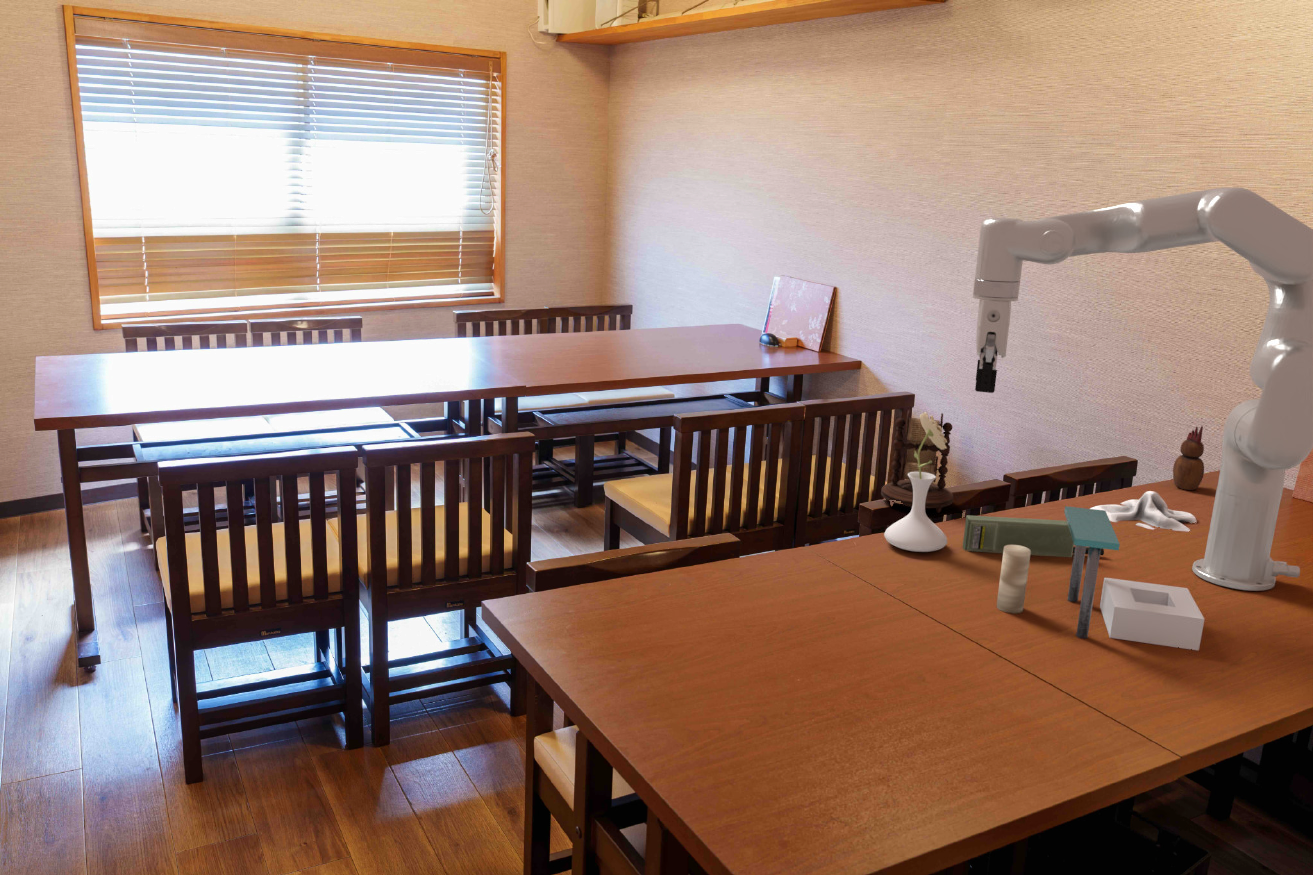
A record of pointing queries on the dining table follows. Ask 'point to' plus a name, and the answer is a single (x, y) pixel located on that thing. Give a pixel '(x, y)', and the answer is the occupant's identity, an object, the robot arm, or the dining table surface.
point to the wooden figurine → (1190, 462)
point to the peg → (1013, 578)
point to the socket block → (1151, 613)
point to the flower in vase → (920, 504)
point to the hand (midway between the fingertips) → (984, 386)
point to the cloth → (1148, 513)
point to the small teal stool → (1095, 534)
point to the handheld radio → (1019, 535)
